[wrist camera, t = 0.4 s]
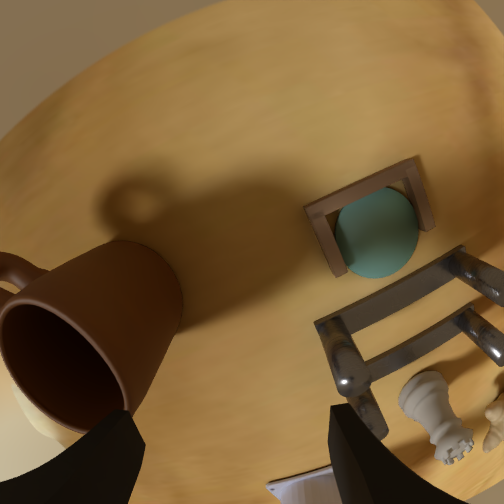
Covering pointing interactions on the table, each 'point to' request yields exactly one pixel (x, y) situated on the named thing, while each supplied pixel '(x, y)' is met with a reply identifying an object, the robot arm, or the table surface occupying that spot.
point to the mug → (88, 330)
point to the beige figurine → (494, 424)
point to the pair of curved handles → (392, 300)
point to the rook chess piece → (436, 415)
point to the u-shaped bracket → (373, 222)
